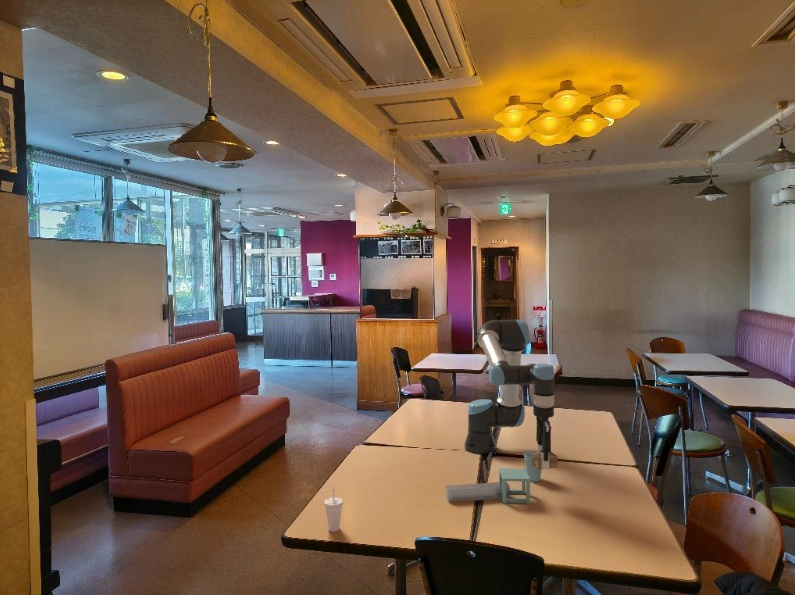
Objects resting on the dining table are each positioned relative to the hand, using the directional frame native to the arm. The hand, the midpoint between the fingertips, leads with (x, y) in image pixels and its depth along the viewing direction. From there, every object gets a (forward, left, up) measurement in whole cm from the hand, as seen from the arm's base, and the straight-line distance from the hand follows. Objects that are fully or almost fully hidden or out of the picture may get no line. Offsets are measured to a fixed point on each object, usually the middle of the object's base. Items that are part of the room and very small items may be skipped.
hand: (543, 465), depth 199 cm
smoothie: (+26, -76, -13) cm, 81 cm away
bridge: (0, -11, -13) cm, 17 cm away
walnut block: (0, 0, 0) cm, 1 cm away
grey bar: (0, -25, -13) cm, 28 cm away
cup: (-18, 0, -13) cm, 22 cm away
